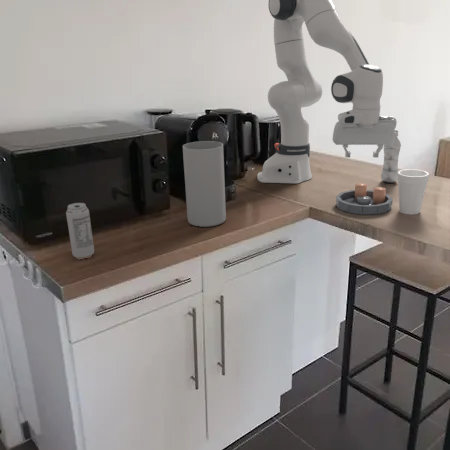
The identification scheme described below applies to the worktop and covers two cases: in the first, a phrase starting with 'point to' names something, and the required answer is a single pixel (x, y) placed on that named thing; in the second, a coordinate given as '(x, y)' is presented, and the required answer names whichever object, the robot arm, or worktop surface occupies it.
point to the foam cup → (411, 190)
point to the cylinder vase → (204, 183)
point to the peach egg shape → (379, 195)
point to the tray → (362, 209)
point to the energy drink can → (80, 230)
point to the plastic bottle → (391, 161)
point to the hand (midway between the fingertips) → (361, 157)
